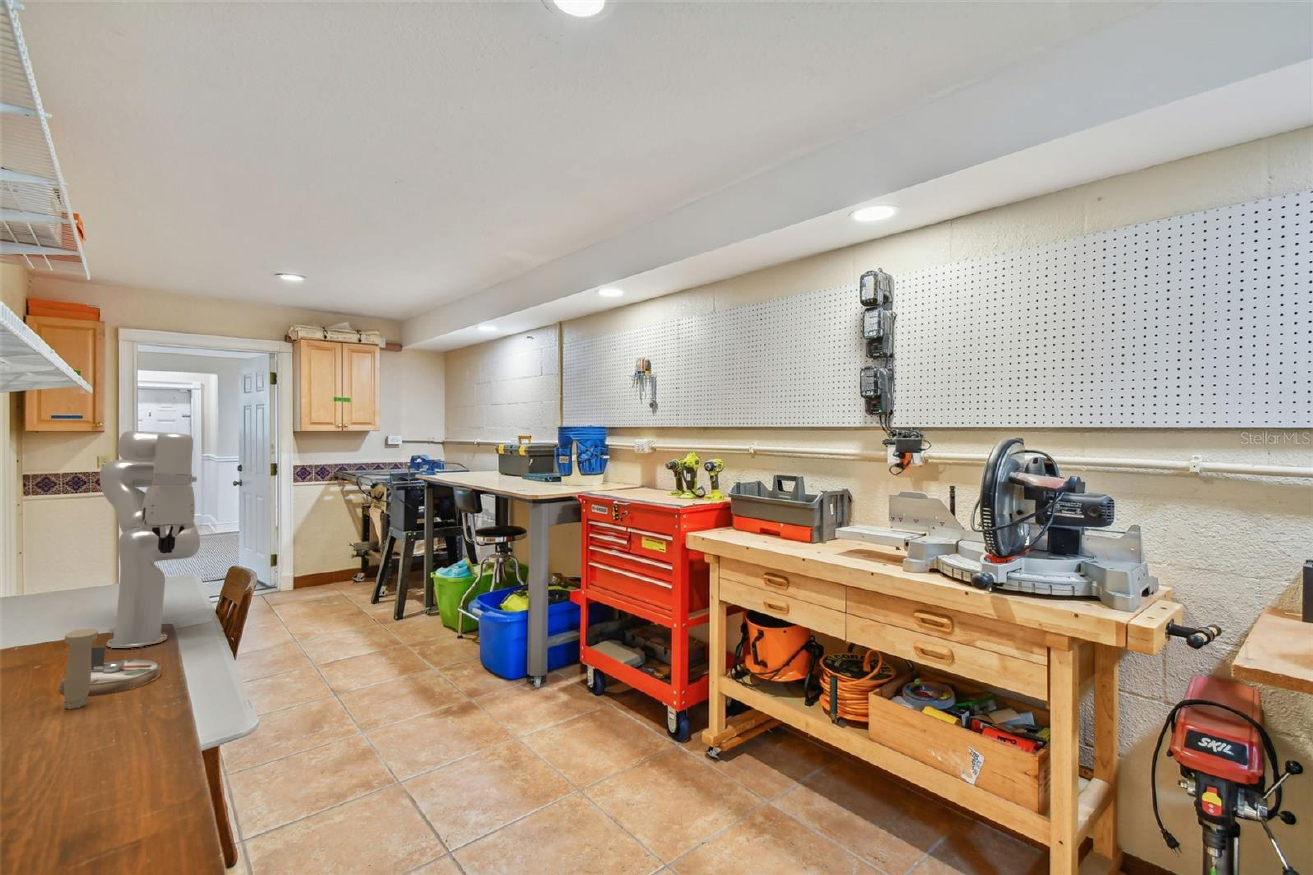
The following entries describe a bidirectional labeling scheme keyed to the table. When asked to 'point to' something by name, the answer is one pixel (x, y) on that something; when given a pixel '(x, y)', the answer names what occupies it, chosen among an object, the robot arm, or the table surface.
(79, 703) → the handle
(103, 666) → the dial pointer
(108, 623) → the table surface
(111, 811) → the table surface
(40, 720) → the table surface
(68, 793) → the table surface
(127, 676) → the base
